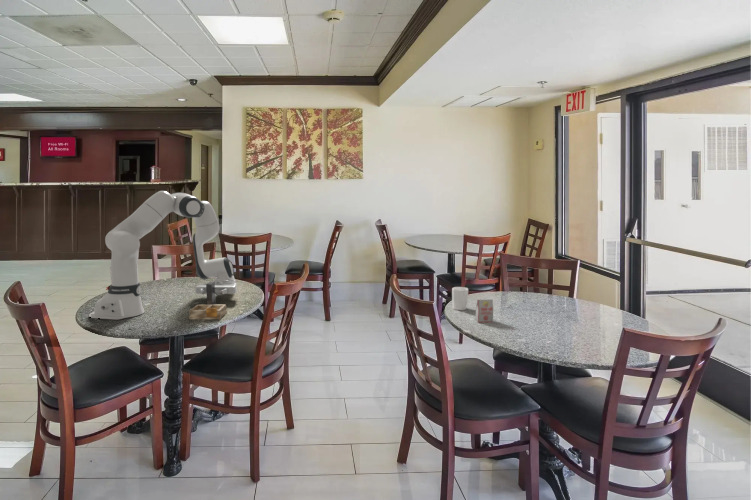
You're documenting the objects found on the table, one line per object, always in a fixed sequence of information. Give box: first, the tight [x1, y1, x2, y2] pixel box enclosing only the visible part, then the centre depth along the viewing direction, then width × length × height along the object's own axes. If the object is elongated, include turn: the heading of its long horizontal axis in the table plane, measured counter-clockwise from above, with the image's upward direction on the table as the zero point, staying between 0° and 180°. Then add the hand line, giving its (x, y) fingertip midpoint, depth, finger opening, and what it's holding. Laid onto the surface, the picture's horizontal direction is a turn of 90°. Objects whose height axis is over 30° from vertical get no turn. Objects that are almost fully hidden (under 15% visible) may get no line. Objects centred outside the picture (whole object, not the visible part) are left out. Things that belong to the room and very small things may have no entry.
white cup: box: [451, 286, 469, 311], centre depth 227 cm, size 8×8×10 cm
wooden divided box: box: [188, 304, 228, 320], centre depth 212 cm, size 14×12×5 cm
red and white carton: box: [475, 299, 494, 324], centre depth 207 cm, size 4×7×10 cm, turn 95°
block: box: [205, 281, 217, 305], centre depth 225 cm, size 2×5×12 cm, turn 2°
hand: (211, 292), depth 227 cm, fingers open, 8 cm apart
